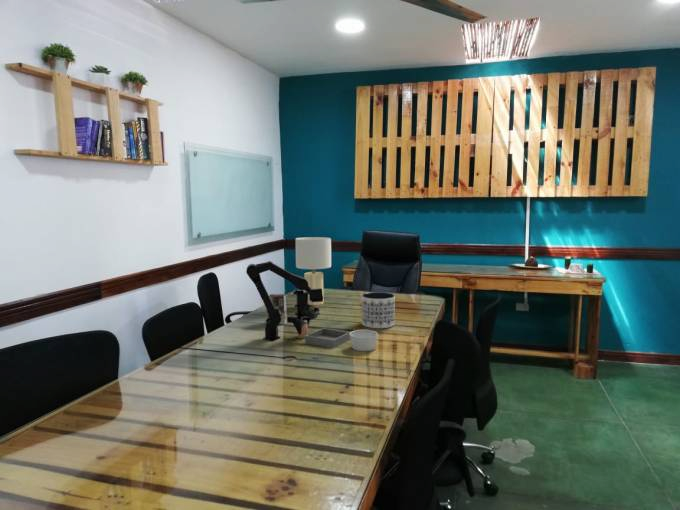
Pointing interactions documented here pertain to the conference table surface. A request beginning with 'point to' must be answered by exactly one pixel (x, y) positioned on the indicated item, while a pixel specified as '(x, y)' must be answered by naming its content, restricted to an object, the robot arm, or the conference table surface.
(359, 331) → the ramekin
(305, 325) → the shaker
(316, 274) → the lamp
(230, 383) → the conference table surface
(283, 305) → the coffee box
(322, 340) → the tray
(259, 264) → the robot arm
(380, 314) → the planter
